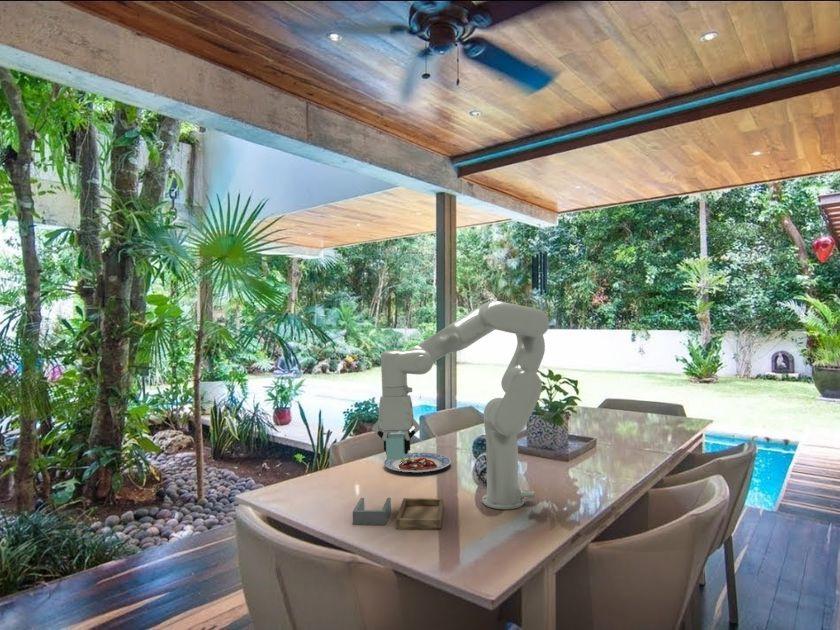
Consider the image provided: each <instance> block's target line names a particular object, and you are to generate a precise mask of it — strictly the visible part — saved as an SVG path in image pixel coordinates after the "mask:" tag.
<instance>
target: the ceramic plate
mask: <svg viewBox="0 0 840 630" xmlns="http://www.w3.org/2000/svg"><path fill="white" fill-rule="evenodd" d="M399 462H400V463H401V462H402V463H401V464H399V465H398V466H399V468H400V469H398V468H396V466H395V465H396V464H397V463H399ZM451 463H452V460H451V458H449V456H446V455H443V454H439V453H433V452H408V454H406V456H405V458H404V460H387V458H386V459H385V460H384V461H383V465H384V467H386V468H387V469H390V470H393V471H396V472H401V471H402V472H401V473H406V472H412V473H411V474H424V473H423V472H425V473H429V472H430V471H431V472H433V471H439V470H442V469H444V468H447V467H448V466H449V465H451Z"/></svg>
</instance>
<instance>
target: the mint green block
mask: <svg viewBox="0 0 840 630" xmlns="http://www.w3.org/2000/svg"><path fill="white" fill-rule="evenodd" d="M404 441H405V435H404V432H403V431H396V432H389V434H388V437H387V438H386V451H385V455H386V459H387V460H404V458H405V456H406V454H405V447H404Z"/></svg>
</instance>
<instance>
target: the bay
mask: <svg viewBox="0 0 840 630" xmlns="http://www.w3.org/2000/svg"><path fill="white" fill-rule="evenodd" d="M391 499H392V498H391V497H387V498H386V500H385V502H384V505H383V506H382V509H381V510H376V509H375V510H372V509H370V510H365V497H360V499H359V500H358V502H357V504H356V505H355V507H354V508H353V510H352V525H373V526H374V525H380V526H382V525H383V526H384V525H386V523H387V520H388V518H389V516H390V513H391V510H392V503H391V501H392V500H391Z"/></svg>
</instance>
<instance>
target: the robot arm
mask: <svg viewBox="0 0 840 630" xmlns="http://www.w3.org/2000/svg"><path fill="white" fill-rule="evenodd" d="M549 327H550V319H549V317H548V315H547V313H546V312H545V311H543V310H542V309H541V308H540V309H539V308H535V307H530V306H526V305H520V304H516V303H512V302H505V301H502V300H493V301H486V302H484V303H483V304H481V305H479V306H478V307H476V308H475V309H473V310H471V311H469V312H468V313H466V314H465V315H464V316H462V317H460V318H459V319H457V320H456V321H454V322H452V323H450V324H448V325H447V326H445V327H444V328H443V329H441V330H439V331H437V332H436V333H434V334H432V335H431V336H429V337H427V338H426V339H424V340H422V341H421V342H420V343H418V344H416V345H415V346H413V347H411V348H410V349H409V350H407V351H404V350H401V349H398V350H397V349H396V350H395V349H393V350H392V349H391V350H385V351H382V352H381V354H380V367H381V369H380V370H381V388H382V389H381V394H382V395H381V396H380V398H379V403H378V404H379V405H378V419H377V421H376V422H375V424H374V425H373V426H372V427H371V430H372V431H373V432H374V433H375V434H377V436H379V437H380V438H381V441H383V451H384V452H386V438H387V437H388V436H389V434H390V432H398V431H402V433H404V435H405V441H404V447H405V454H408V453H409V451H411V439H412V438H413V437H414V435H415V434H416V433H418V432H419V431H420V430H421V428H422V426H421V425H420V424H419V423H418V422H417V420H416V419H415V418H414V409H413V401H412V397H411V394H410V393H413V387H409V386H408V375H409V374H411V375H424V374H427V373H428V372H430V371H431V370H432V367H433V366H434V362H436V361H437V360H440V359H441V358H443V357H445V356H447V355H450V354H451V353H455V352H458V351H459V352H460V351H462V350H464V349H467V348H469V346H471V345H473V344H475V343H476V342H477V341H479V340H480V339H483V337H485V336H487V335H488V334H491V333H492V332H493V331H495V330H497V331H501V332H504V333H508V334H509V333H510V334H515V336H516V341H517V345H516V348H515V351H514V353H513V356H512V357H511V360H510V361H509V364H508V366H507V368H506V370H505V372H504V374H503V375H502V379H501V389H502V391H503V392H504V395H503V397H495V398H493V399H491V400H489V401H488V402H487V403H486V405H485V407H484V408H483V423H484V431H485V432H484V433H485V448H486V449H485V454H486V455H485V456H486V457H485V458H486V459H485V460H486V494H484V495H483V496H482V499H481V501H482V503H483V505H485V506H487V507H489V508H490V509H491V508H492V509H496V510H513V509H517V508H521V507H522V506H524V504H525V498H529V499H534V498H535V497H536V496H535V491H534V490H530V489H529V488H528V489H522V488H521V487H520V484H519V454H518V453H519V452H518V451H519V447H518V446H519V445H518V434H520V433H521V432H522V431H523V430H524V429H525V427H526V425H527V424H528V423H529V422H528V421H529V419H530V417H532V414H533V411H534V409H535V407H536V406H537V403H538V402H539V399H540V396H541V393H542V389H543V387H542V385H543V384H542V380H541V377H540V376H539V375H538V371H539V369H540V366H541V363H542V361H543V359H544V357H545V356H544V355H545V351H546V343H545V339H544V335H545V334H546V333H547V332H548V330H549ZM407 374H408V375H407ZM408 394H409V395H408ZM413 427H414V429H412V428H413ZM411 429H412V430H411ZM410 430H411V431H410Z"/></svg>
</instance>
